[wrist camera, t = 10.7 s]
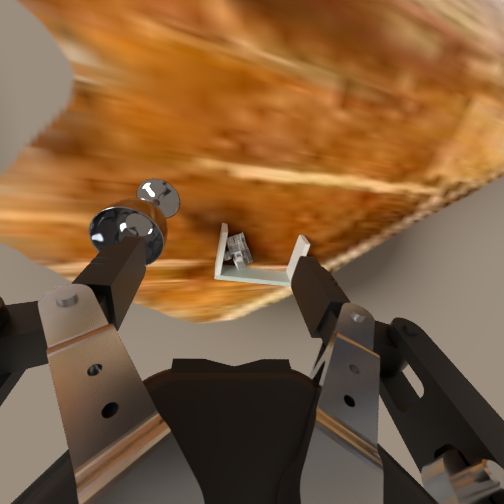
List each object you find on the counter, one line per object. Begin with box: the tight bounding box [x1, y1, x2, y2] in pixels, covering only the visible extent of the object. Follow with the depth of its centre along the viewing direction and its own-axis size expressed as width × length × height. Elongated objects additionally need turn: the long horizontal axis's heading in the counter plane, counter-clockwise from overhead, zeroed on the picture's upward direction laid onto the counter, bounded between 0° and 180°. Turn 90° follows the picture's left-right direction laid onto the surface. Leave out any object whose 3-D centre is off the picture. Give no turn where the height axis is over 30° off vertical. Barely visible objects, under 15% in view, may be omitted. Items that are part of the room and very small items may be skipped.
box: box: [215, 223, 310, 286], centre depth 44 cm, size 10×17×4 cm, turn 78°
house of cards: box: [224, 232, 253, 270], centre depth 42 cm, size 9×9×8 cm
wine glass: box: [89, 179, 180, 266], centre depth 32 cm, size 8×8×15 cm
